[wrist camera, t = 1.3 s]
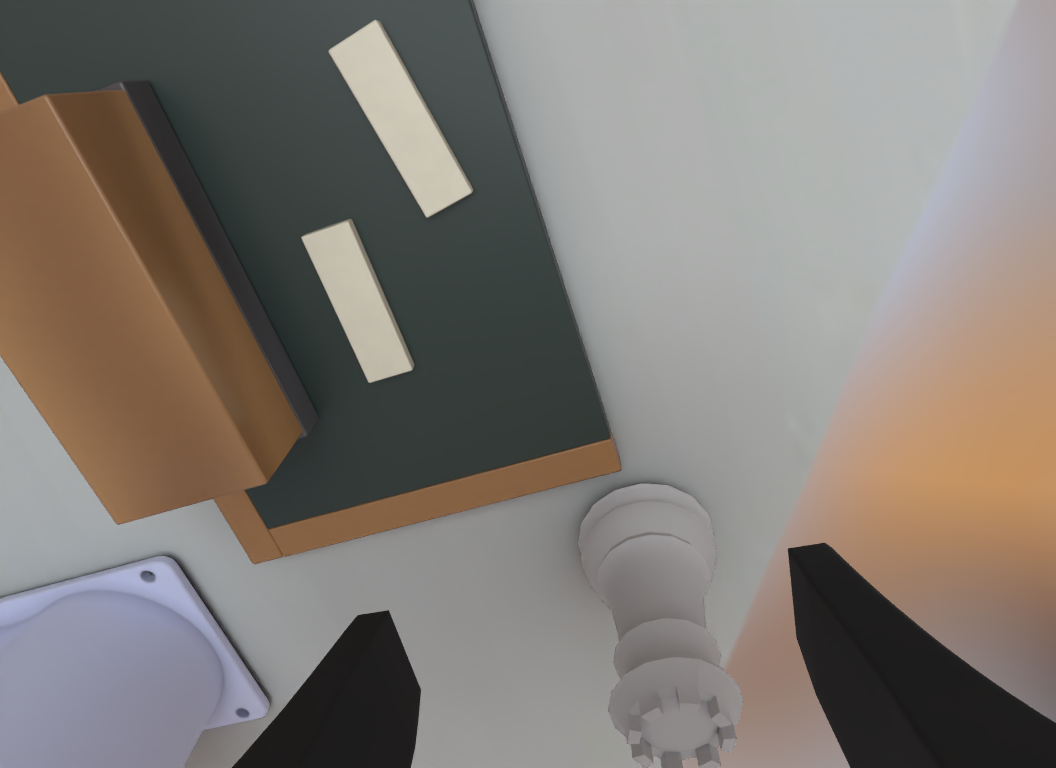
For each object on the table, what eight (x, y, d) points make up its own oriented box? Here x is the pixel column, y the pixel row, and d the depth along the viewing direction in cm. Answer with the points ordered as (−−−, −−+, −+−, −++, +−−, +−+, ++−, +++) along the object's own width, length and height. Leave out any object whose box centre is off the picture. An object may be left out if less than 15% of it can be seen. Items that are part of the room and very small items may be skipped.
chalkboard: (261, 550, 25) (252, 565, 24) (-96, -46, 17) (-125, -50, 16) (619, 457, 22) (622, 471, 22) (386, -272, 15) (377, -288, 14)
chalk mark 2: (415, 365, 20) (412, 370, 20) (371, 378, 21) (368, 384, 20) (351, 217, 19) (347, 220, 18) (305, 233, 19) (300, 237, 19)
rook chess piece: (600, 460, 22) (620, 651, 15) (731, 493, 23) (812, 697, 15) (561, 566, 24) (562, 782, 17) (683, 595, 25) (735, 819, 17)
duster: (192, 454, 22) (120, 532, 18) (0, 137, 18) (-140, 156, 15) (320, 417, 21) (271, 491, 18) (147, 78, 17) (39, 82, 14)
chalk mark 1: (474, 190, 18) (472, 193, 18) (429, 215, 19) (426, 218, 18) (379, 19, 17) (375, 19, 16) (332, 50, 17) (326, 50, 17)
